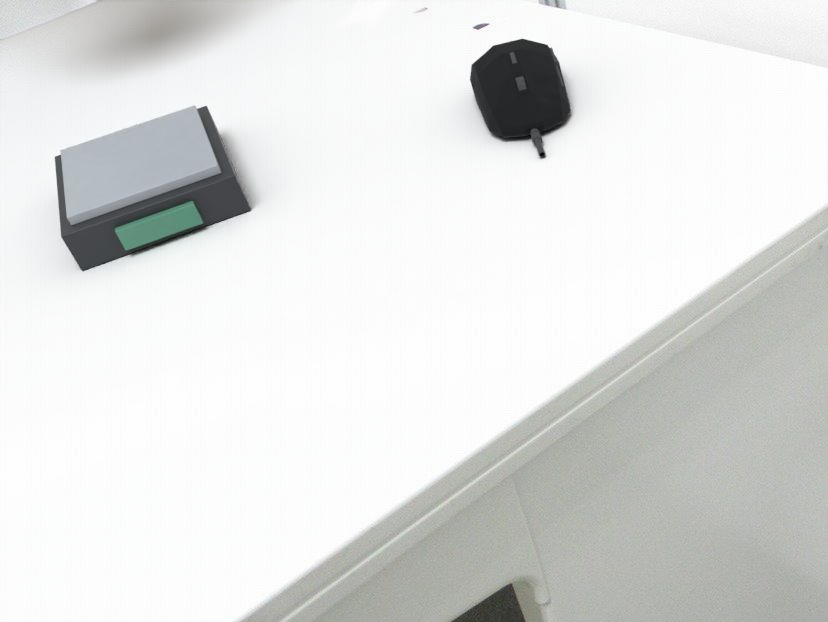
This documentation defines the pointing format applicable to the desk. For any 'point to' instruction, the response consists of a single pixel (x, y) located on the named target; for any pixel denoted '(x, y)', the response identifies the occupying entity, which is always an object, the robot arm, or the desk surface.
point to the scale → (145, 186)
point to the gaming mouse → (520, 90)
